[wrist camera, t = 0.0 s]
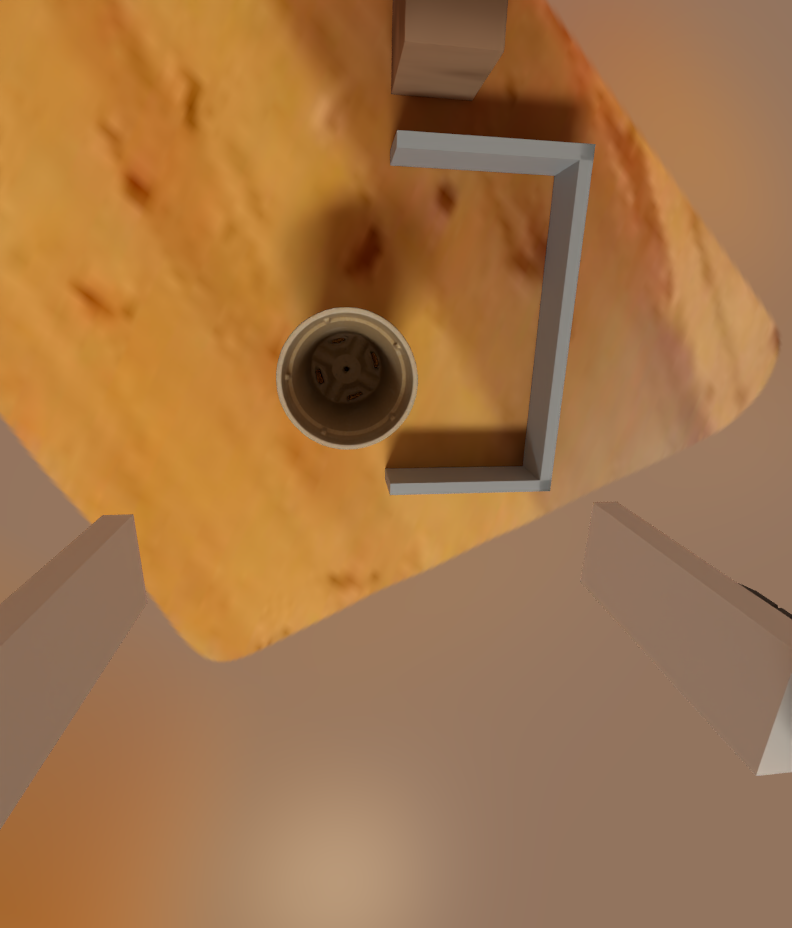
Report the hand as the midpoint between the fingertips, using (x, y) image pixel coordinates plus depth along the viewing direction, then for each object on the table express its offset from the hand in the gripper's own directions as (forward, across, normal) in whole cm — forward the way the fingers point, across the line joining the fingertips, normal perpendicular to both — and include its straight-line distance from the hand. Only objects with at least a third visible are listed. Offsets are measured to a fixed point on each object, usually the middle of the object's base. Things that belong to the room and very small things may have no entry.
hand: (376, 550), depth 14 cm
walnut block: (+28, +6, +25) cm, 38 cm away
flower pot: (+28, 0, +2) cm, 28 cm away
